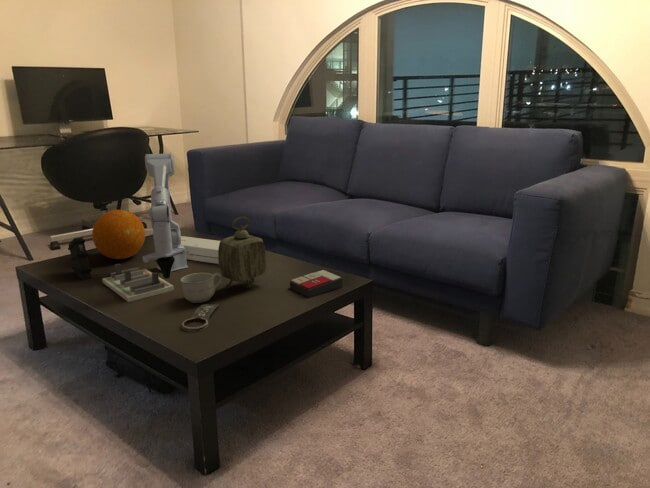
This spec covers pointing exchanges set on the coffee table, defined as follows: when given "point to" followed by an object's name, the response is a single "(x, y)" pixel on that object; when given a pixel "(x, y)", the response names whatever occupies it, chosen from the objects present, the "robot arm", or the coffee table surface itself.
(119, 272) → the block
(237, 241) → the tabletop clock
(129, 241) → the decorative sphere
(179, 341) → the coffee table surface
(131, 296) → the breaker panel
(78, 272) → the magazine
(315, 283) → the red white labeled box
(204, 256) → the laminator
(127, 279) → the breaker mid
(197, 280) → the teacup
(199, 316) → the metal bottle opener
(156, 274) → the breaker
